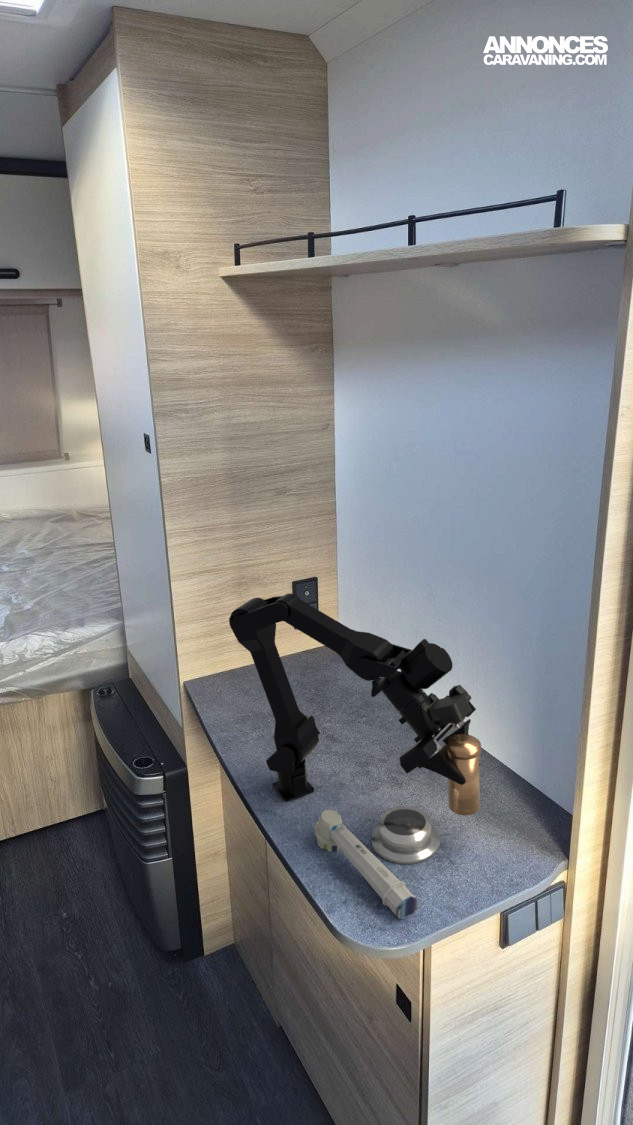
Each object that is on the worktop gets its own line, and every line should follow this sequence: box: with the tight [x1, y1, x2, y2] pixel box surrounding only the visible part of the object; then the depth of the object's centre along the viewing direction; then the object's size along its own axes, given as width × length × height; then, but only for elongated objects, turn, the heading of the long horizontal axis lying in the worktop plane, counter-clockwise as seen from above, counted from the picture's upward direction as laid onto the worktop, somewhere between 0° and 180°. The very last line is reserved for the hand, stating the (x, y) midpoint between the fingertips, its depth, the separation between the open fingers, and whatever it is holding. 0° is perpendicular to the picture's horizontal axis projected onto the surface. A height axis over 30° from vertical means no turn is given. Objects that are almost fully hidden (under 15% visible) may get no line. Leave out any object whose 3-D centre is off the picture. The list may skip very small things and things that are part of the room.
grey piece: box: [314, 809, 419, 920], centre depth 131 cm, size 5×7×25 cm
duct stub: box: [370, 805, 441, 866], centre depth 138 cm, size 12×12×4 cm
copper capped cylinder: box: [446, 734, 482, 816], centre depth 134 cm, size 6×6×12 cm
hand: (471, 775), depth 133 cm, fingers closed on copper capped cylinder, 5 cm apart
